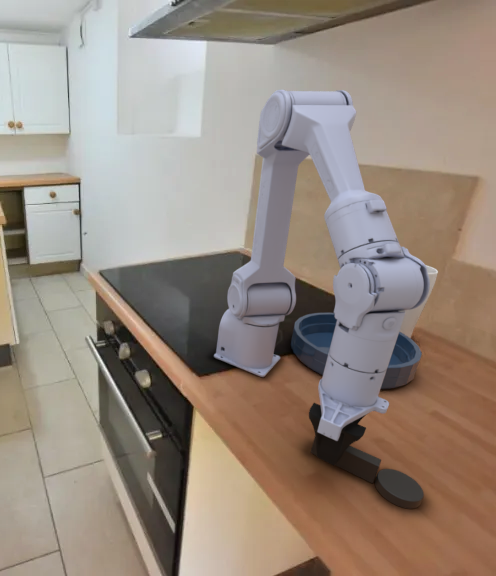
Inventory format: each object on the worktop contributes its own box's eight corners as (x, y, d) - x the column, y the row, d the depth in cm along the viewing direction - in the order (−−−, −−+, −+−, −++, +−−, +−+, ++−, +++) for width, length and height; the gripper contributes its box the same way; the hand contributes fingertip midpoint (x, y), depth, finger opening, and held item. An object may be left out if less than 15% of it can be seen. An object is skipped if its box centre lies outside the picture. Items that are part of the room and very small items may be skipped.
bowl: (274, 359, 70) (278, 338, 68) (308, 322, 83) (312, 304, 81) (404, 407, 58) (413, 383, 56) (419, 355, 71) (427, 334, 69)
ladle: (306, 459, 48) (310, 443, 47) (317, 440, 51) (321, 424, 50) (418, 516, 41) (426, 498, 40) (422, 490, 44) (430, 472, 43)
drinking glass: (401, 329, 80) (423, 262, 74) (422, 346, 74) (448, 274, 68) (367, 328, 81) (386, 261, 75) (385, 344, 75) (408, 273, 69)
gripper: (388, 406, 36) (353, 507, 41) (409, 346, 45) (379, 434, 51) (308, 376, 40) (285, 471, 45) (343, 327, 50) (321, 410, 55)
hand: (331, 449), depth 48 cm, fingers open, 4 cm apart
